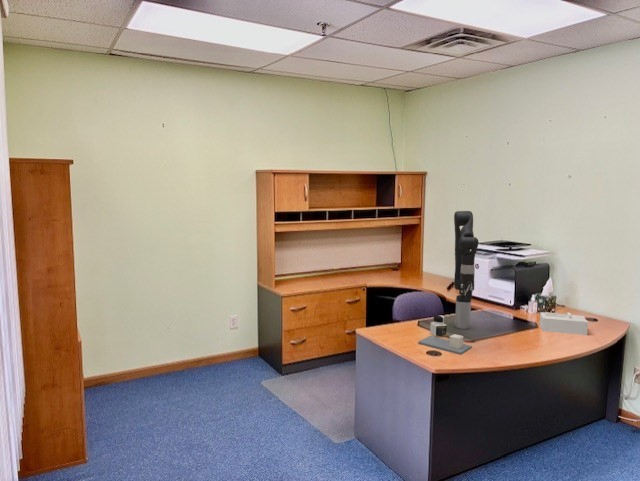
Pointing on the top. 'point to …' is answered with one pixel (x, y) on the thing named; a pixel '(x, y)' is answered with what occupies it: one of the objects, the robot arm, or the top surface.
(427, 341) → the board
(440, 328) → the medicine bottle
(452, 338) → the beige cube block
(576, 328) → the tissue box
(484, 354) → the top surface
